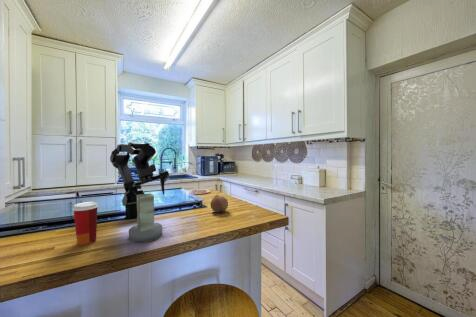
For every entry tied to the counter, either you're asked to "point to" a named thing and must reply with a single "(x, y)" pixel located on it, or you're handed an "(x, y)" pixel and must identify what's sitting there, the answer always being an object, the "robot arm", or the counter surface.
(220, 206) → the onion
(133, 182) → the robot arm
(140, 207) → the sage block
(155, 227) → the slate plinth
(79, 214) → the paper cup
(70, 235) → the counter surface
